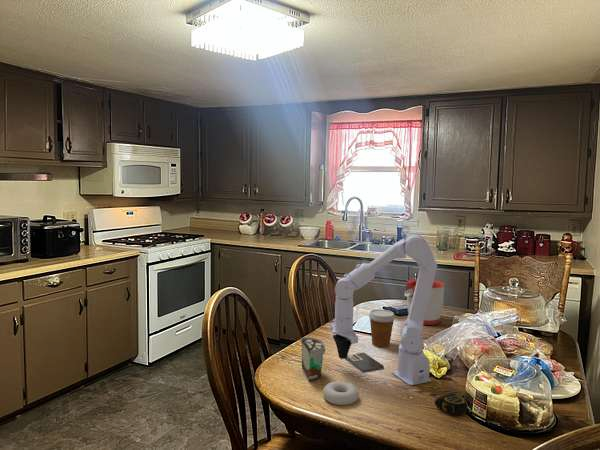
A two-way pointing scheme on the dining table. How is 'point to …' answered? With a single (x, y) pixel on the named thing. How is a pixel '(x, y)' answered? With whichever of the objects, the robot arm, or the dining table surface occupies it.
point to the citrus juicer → (434, 301)
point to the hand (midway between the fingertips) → (342, 357)
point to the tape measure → (452, 404)
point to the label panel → (364, 362)
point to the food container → (312, 357)
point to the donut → (340, 393)
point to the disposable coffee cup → (381, 327)
